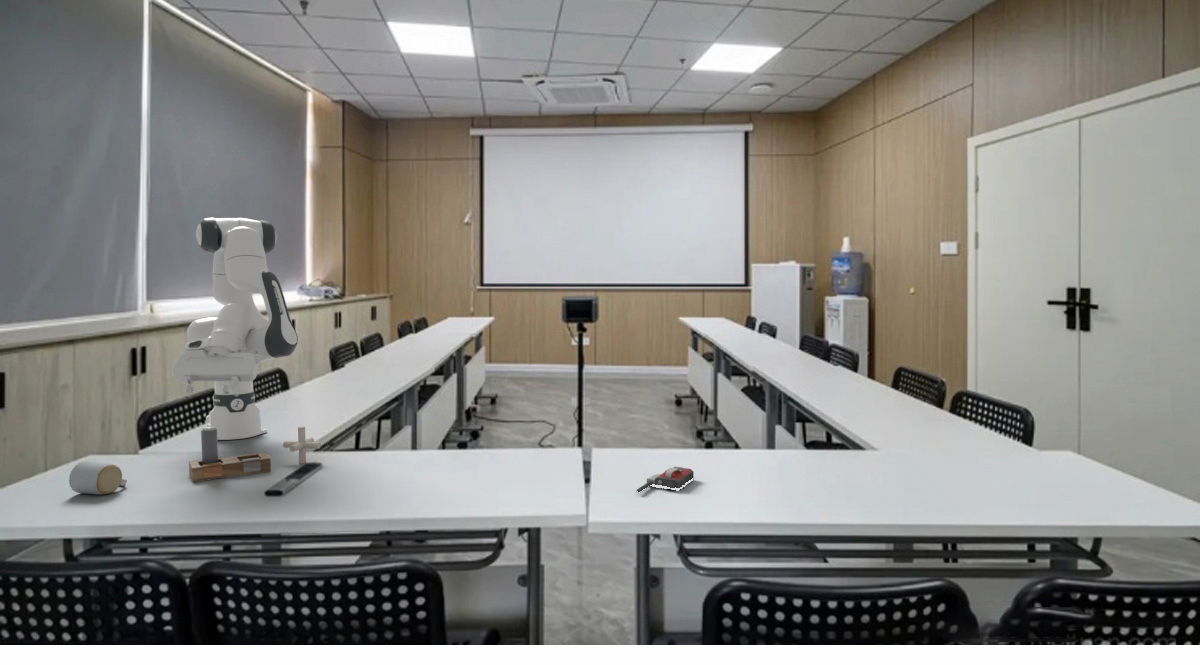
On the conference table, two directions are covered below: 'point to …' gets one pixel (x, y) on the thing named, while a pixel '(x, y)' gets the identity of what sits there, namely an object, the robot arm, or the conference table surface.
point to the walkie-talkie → (670, 478)
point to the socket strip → (230, 466)
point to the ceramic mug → (95, 478)
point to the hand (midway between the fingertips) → (207, 392)
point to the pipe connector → (301, 444)
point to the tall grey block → (209, 445)
